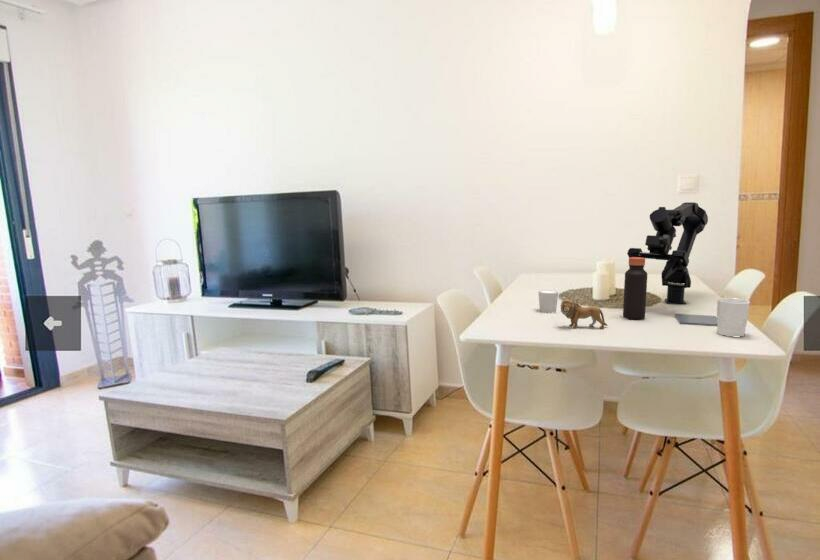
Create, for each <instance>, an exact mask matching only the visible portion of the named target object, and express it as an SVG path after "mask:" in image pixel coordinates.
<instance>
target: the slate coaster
mask: <svg viewBox="0 0 820 560" xmlns="http://www.w3.org/2000/svg"><path fill="white" fill-rule="evenodd" d="M674 317H675V318H676V320H677V322H678V323H679V324H680V325H689V326H690V325H691V326H692V325H693V326H706V327H707V326H709V327H717V325H718V324H717V315H704V314H703V315H702V314H687V313H684V314H683V313H674Z"/></svg>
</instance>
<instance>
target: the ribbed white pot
mask: <svg viewBox="0 0 820 560" xmlns="http://www.w3.org/2000/svg"><path fill="white" fill-rule="evenodd" d="M537 293H538V303H539V304H538V305H539V306H538V307H539V312H542V313H551V314H552V313H556V312H557V308H558V307H557V305H558V299H559V291H557V290H551V289H550V290H548V289H545V290H538V292H537Z"/></svg>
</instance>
